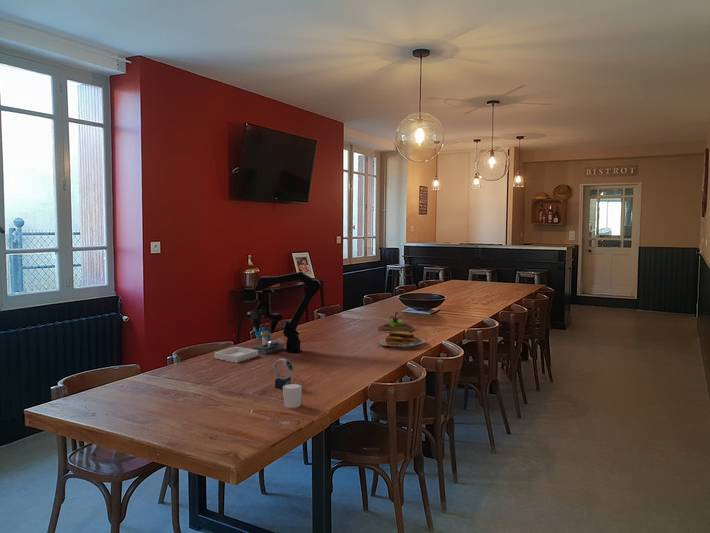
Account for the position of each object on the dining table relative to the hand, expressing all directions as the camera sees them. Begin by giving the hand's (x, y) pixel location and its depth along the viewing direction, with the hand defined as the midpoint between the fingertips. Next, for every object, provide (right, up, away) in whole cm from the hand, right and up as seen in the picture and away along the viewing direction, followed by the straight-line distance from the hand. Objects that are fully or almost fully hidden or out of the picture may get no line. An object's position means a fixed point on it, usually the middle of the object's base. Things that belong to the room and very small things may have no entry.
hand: (264, 332), depth 271 cm
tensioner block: (+1, -10, +3) cm, 10 cm away
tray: (-12, -11, -11) cm, 19 cm away
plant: (+70, -6, +58) cm, 91 cm away
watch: (+17, -15, -56) cm, 60 cm away
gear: (-5, -8, +27) cm, 29 cm away
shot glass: (+23, -17, -78) cm, 83 cm away
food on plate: (+70, -9, +17) cm, 73 cm away
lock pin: (0, -10, +1) cm, 10 cm away
